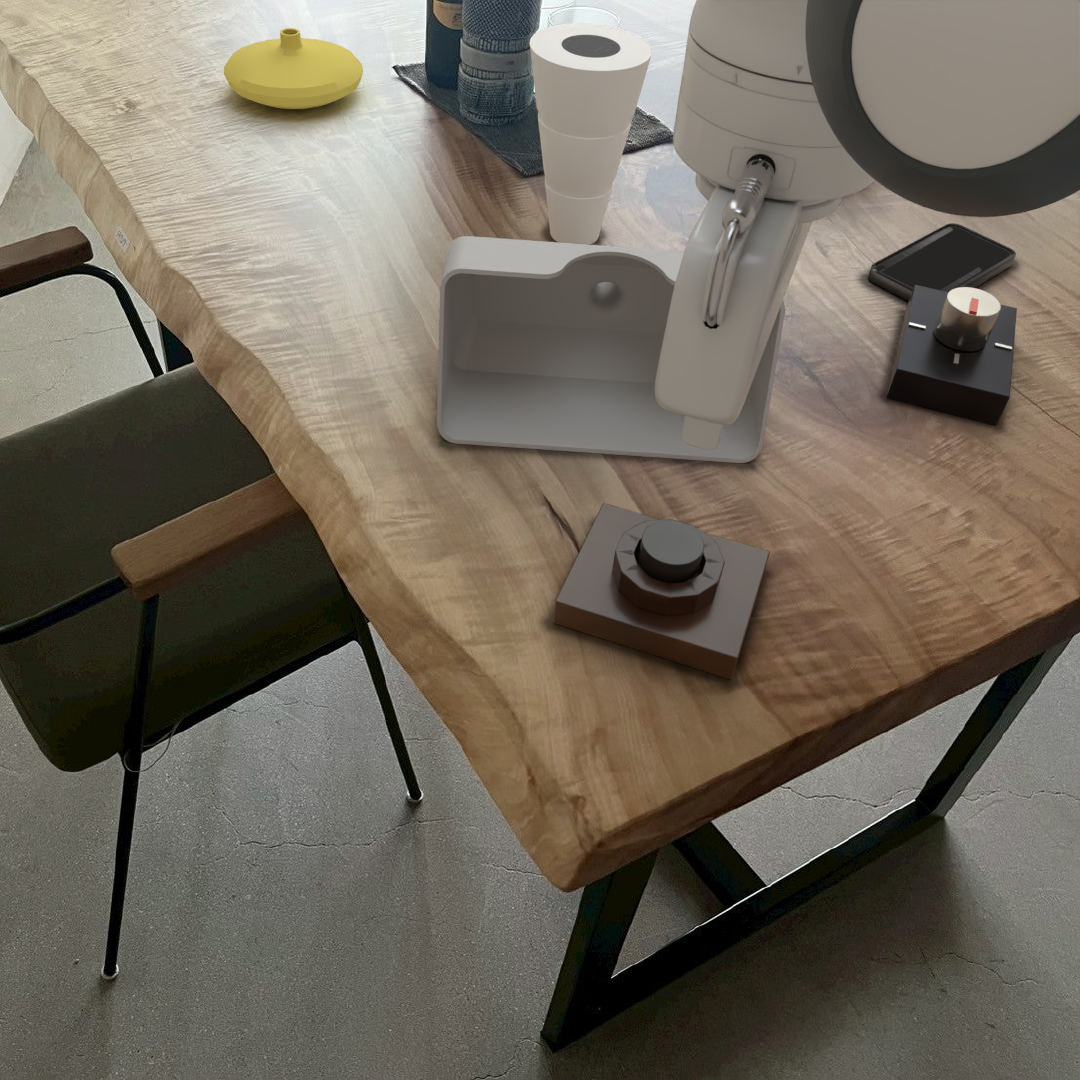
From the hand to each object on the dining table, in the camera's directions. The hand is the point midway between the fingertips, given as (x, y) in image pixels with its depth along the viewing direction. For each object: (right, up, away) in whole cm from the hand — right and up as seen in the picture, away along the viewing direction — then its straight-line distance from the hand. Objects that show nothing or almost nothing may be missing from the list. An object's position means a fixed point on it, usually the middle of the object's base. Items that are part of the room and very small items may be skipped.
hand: (723, 383), depth 53 cm
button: (-1, -9, +15) cm, 18 cm away
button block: (-1, -12, +18) cm, 21 cm away
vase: (-38, +44, +70) cm, 91 cm away
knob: (+27, +9, +36) cm, 46 cm away
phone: (+30, +18, +50) cm, 61 cm away
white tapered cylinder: (-6, +22, +51) cm, 56 cm away
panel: (+26, +7, +38) cm, 47 cm away
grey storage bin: (-5, +4, +33) cm, 34 cm away
